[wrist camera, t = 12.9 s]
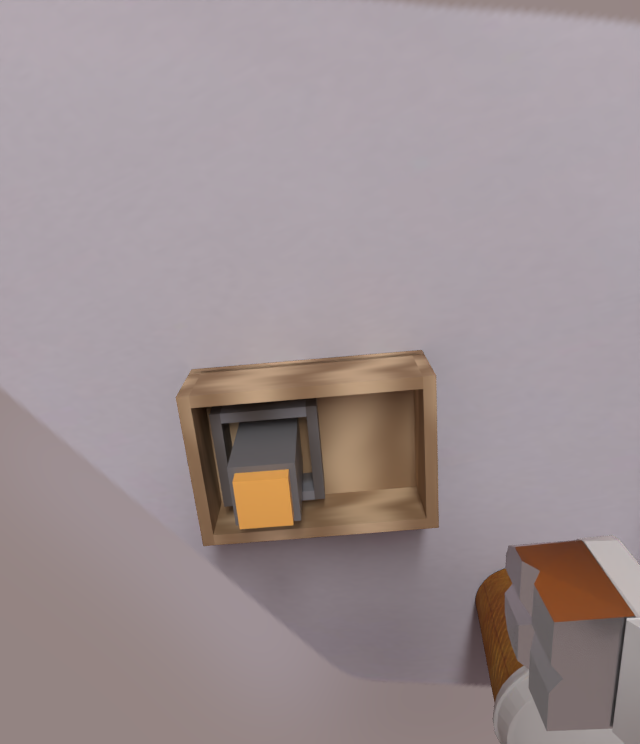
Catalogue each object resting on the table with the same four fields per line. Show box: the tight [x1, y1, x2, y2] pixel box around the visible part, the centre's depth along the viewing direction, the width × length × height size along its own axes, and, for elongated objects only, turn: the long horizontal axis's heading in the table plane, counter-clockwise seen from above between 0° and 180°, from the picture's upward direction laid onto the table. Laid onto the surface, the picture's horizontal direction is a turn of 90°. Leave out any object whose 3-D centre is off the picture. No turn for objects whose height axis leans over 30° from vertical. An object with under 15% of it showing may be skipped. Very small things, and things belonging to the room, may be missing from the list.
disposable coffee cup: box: [476, 569, 625, 744], centre depth 42 cm, size 10×10×12 cm
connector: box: [227, 417, 303, 529], centre depth 38 cm, size 4×4×8 cm
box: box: [176, 350, 439, 546], centre depth 40 cm, size 16×11×5 cm
